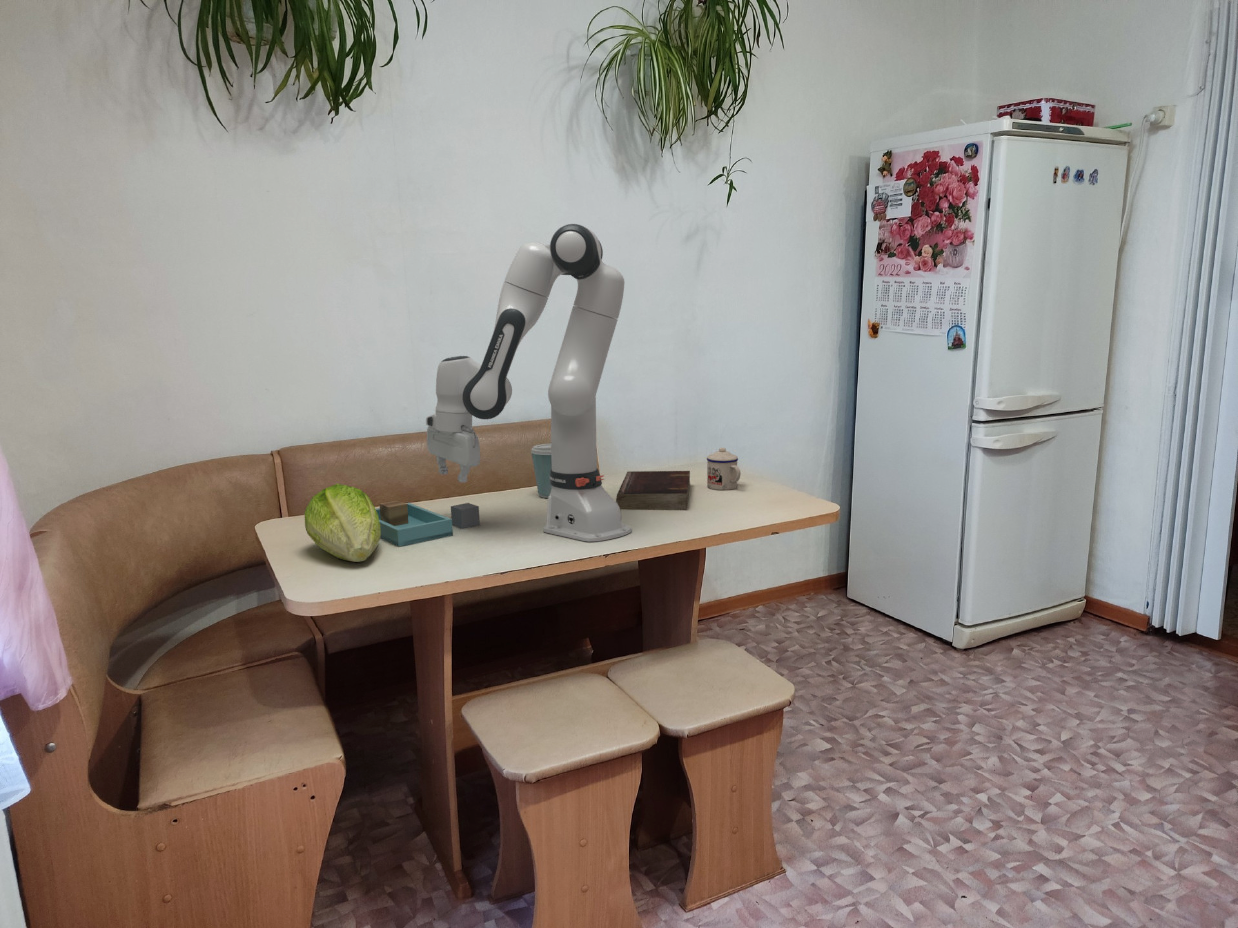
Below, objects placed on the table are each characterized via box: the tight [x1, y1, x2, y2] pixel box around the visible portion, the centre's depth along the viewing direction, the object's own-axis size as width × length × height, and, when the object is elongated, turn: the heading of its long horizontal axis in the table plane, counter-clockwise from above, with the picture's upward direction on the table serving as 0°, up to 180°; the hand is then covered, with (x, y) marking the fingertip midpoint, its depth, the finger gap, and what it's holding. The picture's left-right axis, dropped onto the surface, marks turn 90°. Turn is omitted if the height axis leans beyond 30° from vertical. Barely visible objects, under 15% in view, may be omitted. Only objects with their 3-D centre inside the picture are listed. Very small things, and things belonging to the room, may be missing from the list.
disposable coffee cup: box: [530, 442, 552, 499], centre depth 245 cm, size 11×11×15 cm
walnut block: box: [378, 499, 408, 526], centre depth 215 cm, size 5×5×5 cm
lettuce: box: [304, 483, 381, 563], centre depth 193 cm, size 15×24×16 cm
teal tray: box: [375, 502, 454, 548], centre depth 211 cm, size 22×14×4 cm, turn 40°
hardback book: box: [615, 470, 691, 511], centre depth 243 cm, size 29×19×5 cm, turn 174°
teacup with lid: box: [706, 447, 741, 491], centre depth 252 cm, size 12×9×12 cm
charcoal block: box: [450, 502, 481, 530], centre depth 216 cm, size 5×5×5 cm
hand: (452, 477), depth 215 cm, fingers open, 8 cm apart
